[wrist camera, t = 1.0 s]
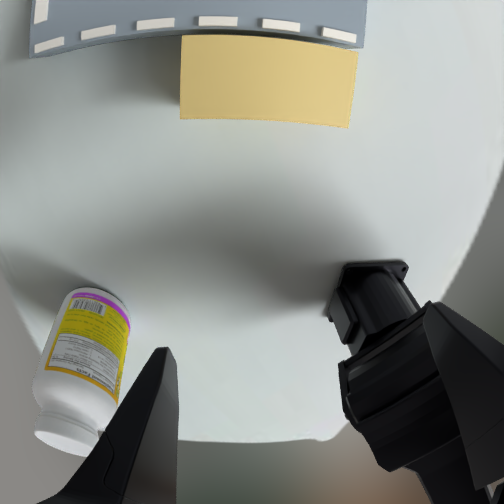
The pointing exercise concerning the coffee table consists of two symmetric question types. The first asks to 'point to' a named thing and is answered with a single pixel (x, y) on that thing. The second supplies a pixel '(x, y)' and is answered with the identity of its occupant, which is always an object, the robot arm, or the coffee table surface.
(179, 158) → the coffee table surface
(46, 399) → the supplement bottle
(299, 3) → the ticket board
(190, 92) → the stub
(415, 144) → the coffee table surface
